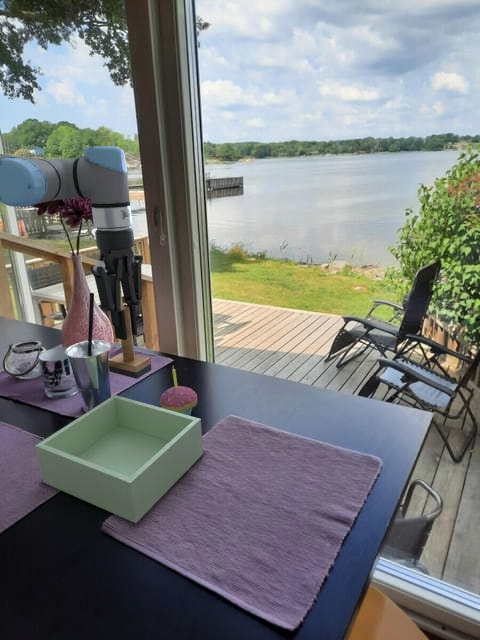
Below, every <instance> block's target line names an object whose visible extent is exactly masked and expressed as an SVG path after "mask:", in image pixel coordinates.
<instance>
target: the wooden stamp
mask: <svg viewBox="0 0 480 640" xmlns="http://www.w3.org/2000/svg"><path fill="white" fill-rule="evenodd" d="M121 310H124V315H125V324H126V333H127V339H126V340H122V339H120V344H121V352H120V353H118V354H116V355H114V356H112V357H110V359H109V360H108V363H109V371H110V373H113V374H116V375H121V376H123V377H129V378H132V379H136V380H137V379H139V378H141V377H142V376H144V375H146V374H147V373H149V372H150V371H152V361H151V357H149V356H148V357H147V356H144V355H139V354H135V346H134V335H132V326H131V317H130V308H129V307H127V306H123V305H121Z"/></svg>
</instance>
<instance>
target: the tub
mask: <svg viewBox="0 0 480 640" xmlns="http://www.w3.org/2000/svg"><path fill="white" fill-rule="evenodd" d="M202 431H203V430H202V419H201V418H199V417H195V416H192V415H190V416H189V415H185V414H181V413H178V412H174V411H171V410H167V409H164V408H161V406H156V405H152V404H150V403H145V402H142V401H140V400H139V401H138V400H135V399H131V398H128V397H125V396H120V395H116V394H114V395H111V398H109V399H108V400H106V401H104V402H103V403H101V404H100V405H98V406H97V407H95V408H93V409H92V410H90V411H89V412H87V413H86V412H85V413H84V414H82V415H81V416H79V417H77V418H76V419H74V420H73V421H72V422H70V423H68V424H67V425H65V426H63V427H62V428H60V429H59V430H57V431H56V432H54V433H52V434H51V435H49V436H48V437H46V438H45V439H43V440H42V441H40V442H38V443H37V444H36V445H34V447H35V452H36V457H37V461H38V464H39V469H40V473H41V477H42V483H44V484H46V485H48V486H51V487H53V488H55V489H57V490H59V491H62V492H64V493H67V494H68V495H71V496H73V497H75V498H78V499H80V500H82V501H84V502H86V503H89V504H90V505H93V506H96V507H97V508H100V509H103V510H104V511H106V512H109V513H111V514H113V515H116V516H118V517H121V518H123V519H124V520H128V521H130V522H131V523H134V524H137V523H138V522H139V521H140V520H141V519H142V518H143V517H144V516H145V515H146V514H147V513H148V512H149V511H150V510H151V509H152V507H154V506H155V504H156V503H158V502H159V500H160V499H161V498H162V497H163V496H164V495H166V493H167V492H168V491H169V490H170V489H171V488H172V487H173V486H174V485H175V484H176V483H177V482H178V481H179V479H180V478H182V477H183V476H184V475H185V473H187V471H188V470H189V469H190V468H191V467H193V465H194V464H195V463H196V462H197V461H198V460H199V459H200V458H201V457H202V456H203V454H204V444H203V432H202Z"/></svg>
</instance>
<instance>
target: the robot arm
mask: <svg viewBox="0 0 480 640" xmlns="http://www.w3.org/2000/svg"><path fill="white" fill-rule="evenodd" d="M83 153H84V155H83V157H78V158H40V157H39V158H31V157H29V158H28V157H20V156H15V155H9V154H5V153H0V203H2V204H4V205H6V206H8V207H13V208H14V207H15V208H18V207H20V208H29V207H31V206H32V207H33V206H34V205H38V204H43V203H47V202H53V201H58V200H73V199H74V200H75V199H90V206H91V212H92V213H91V214H92V221H93V227H94V228H95V229H96V230H95V231H94V235H95V244H96V248H97V249H98V250H99V252H100V254H99V262H97V264H96V265H91V266H90V267H89V270H90V272H91V273H92V275H93V278H94V282H95V285H96V289H97V294H98V298H99V304H100V307H101V310H102V311H105V312H109V314H110V319H111V325H112V327H113V328H114V329H113V330H114V338H115V339H116V340H121V339H122V340H126V339H127V333H126V324H125V315H124V310H121V307H122V306H127V307H129V308H130V317H131V326H132V335H133V336H136V335H138V327H137V318H138V314H137V313H138V312H137V307H138V306H139V305H140V303H141V302H140V301H141V300H142V299H143V285H142V284H143V282H142V281H143V279H142V264H143V259H144V258H143V257H144V256H143V255H140V254H136V253H135V252H134V250H133V248H134V246H135V233H134V229H133V228H131V226H132V225H133V218H132V210H131V209H132V208H131V199H130V188H129V175H128V174H129V171H128V169H127V164H126V163H127V162H126V161H127V160H126V155H125V151H124V149H123V148H121V147H120V146H117V145H115V146H113V145H111V146H110V145H102V146H100V145H98V146H87V147H85V148H84V150H83ZM121 290H122V295H123V299H124V303H125V304H121V300H122V299H121Z"/></svg>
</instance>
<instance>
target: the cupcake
mask: <svg viewBox="0 0 480 640" xmlns="http://www.w3.org/2000/svg"><path fill="white" fill-rule="evenodd" d="M172 378H173V385H174V386H172V387H170V388H167V389H165V390H164V392H162V394H160V396H159V407H160V408H164V409H167V410H171V411H174V412H178V413H181V414H185V415H189V416H191V414H192V410H193V408H195V407H196V406H197V404H198V394H197V392H196V391H194V389H192V388H191V387H189V386H184V385H178V380H177V372H176V369H175V366H174V365H172Z"/></svg>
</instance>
